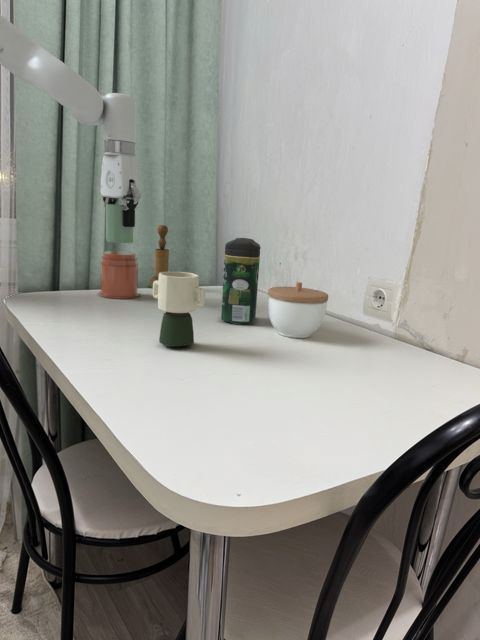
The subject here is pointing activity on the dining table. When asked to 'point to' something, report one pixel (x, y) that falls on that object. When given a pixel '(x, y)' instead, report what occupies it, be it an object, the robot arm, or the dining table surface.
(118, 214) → the cup
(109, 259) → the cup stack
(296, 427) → the dining table surface
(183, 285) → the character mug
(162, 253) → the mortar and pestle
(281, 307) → the lidded bowl
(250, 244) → the coffee jar
